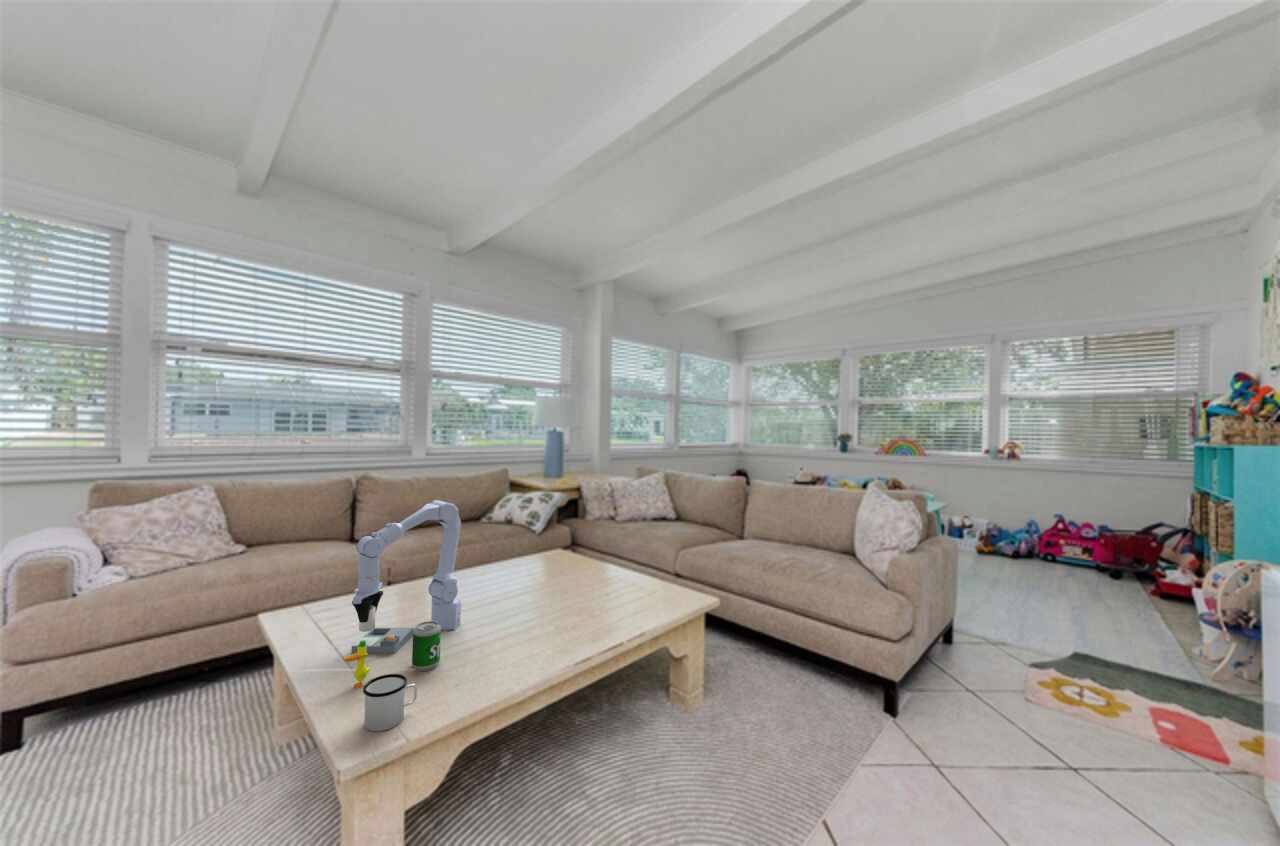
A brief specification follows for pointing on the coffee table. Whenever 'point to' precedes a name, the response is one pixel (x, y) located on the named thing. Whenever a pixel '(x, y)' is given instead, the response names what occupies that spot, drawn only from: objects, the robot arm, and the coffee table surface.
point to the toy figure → (359, 663)
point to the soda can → (426, 646)
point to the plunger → (390, 638)
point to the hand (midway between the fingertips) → (367, 618)
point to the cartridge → (370, 623)
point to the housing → (378, 643)
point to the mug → (385, 701)
